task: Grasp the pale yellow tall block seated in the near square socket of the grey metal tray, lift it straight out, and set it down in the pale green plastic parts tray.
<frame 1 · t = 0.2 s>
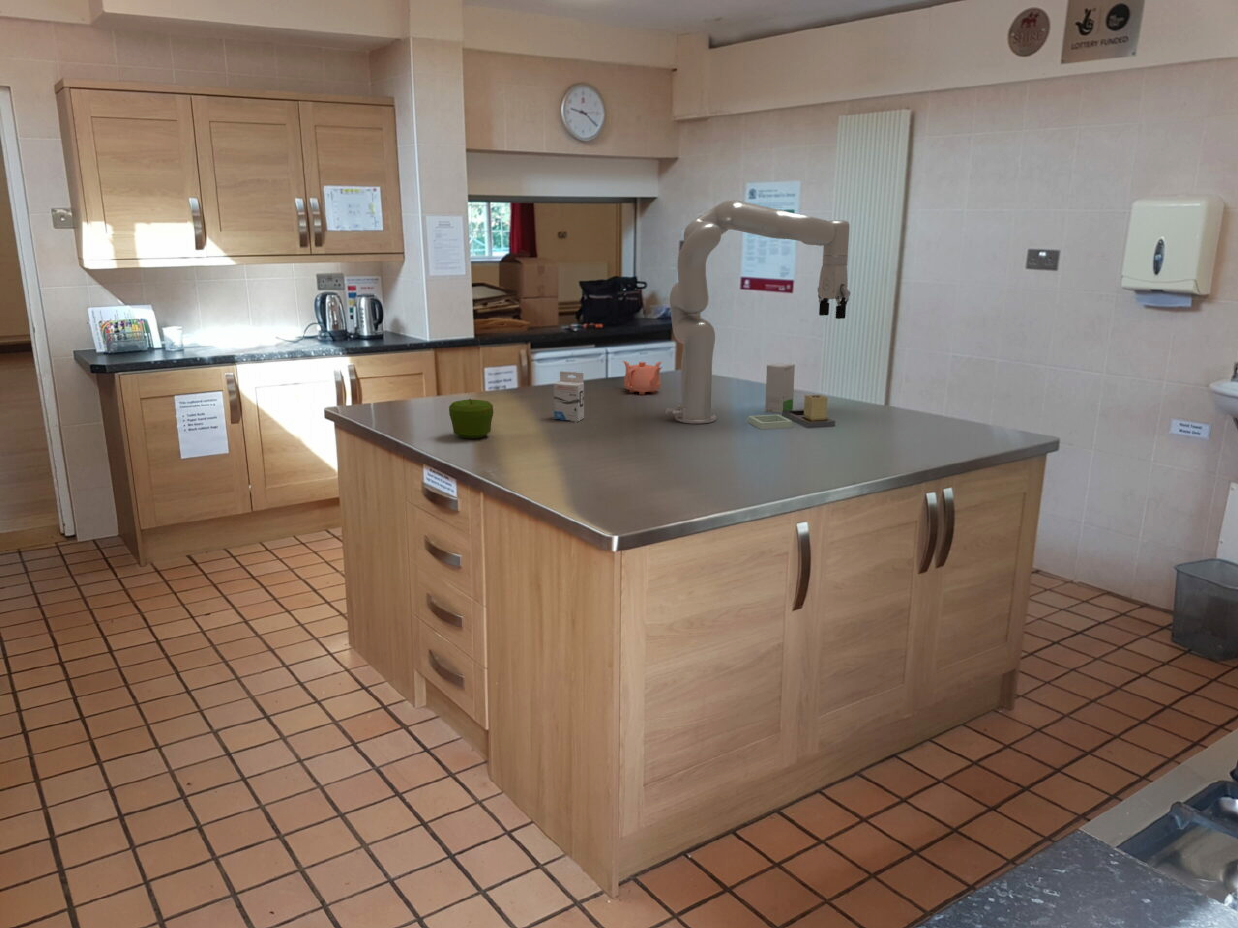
hand: (831, 317, 292), 31 cm above the countertop, fingers open, 9 cm apart
pale yellow tall block: (814, 424, 281), point 1 cm above the countertop, touching grey metal tray
grey metal tray: (807, 422, 285), on the countertop
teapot: (644, 392, 335), on the countertop
parts tray: (769, 426, 280), on the countertop
skincare box: (778, 412, 301), on the countertop
ink box: (569, 420, 290), on the countertop
apple: (472, 437, 268), on the countertop
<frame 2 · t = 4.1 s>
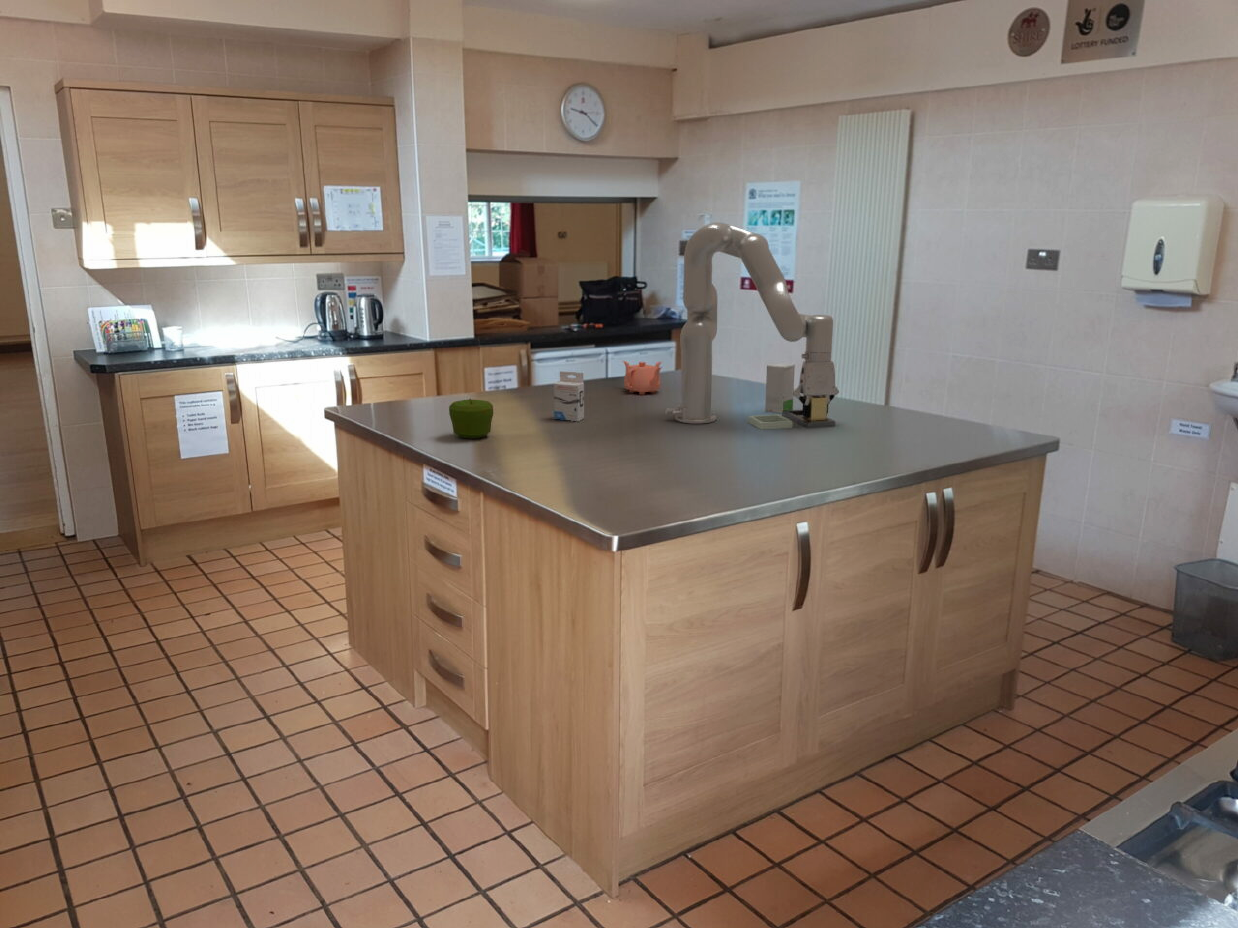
hand: (814, 416, 280), 3 cm above the countertop, fingers closed on pale yellow tall block, 5 cm apart
pale yellow tall block: (814, 424, 281), point 1 cm above the countertop, touching gripper, grey metal tray
everything else where it was.
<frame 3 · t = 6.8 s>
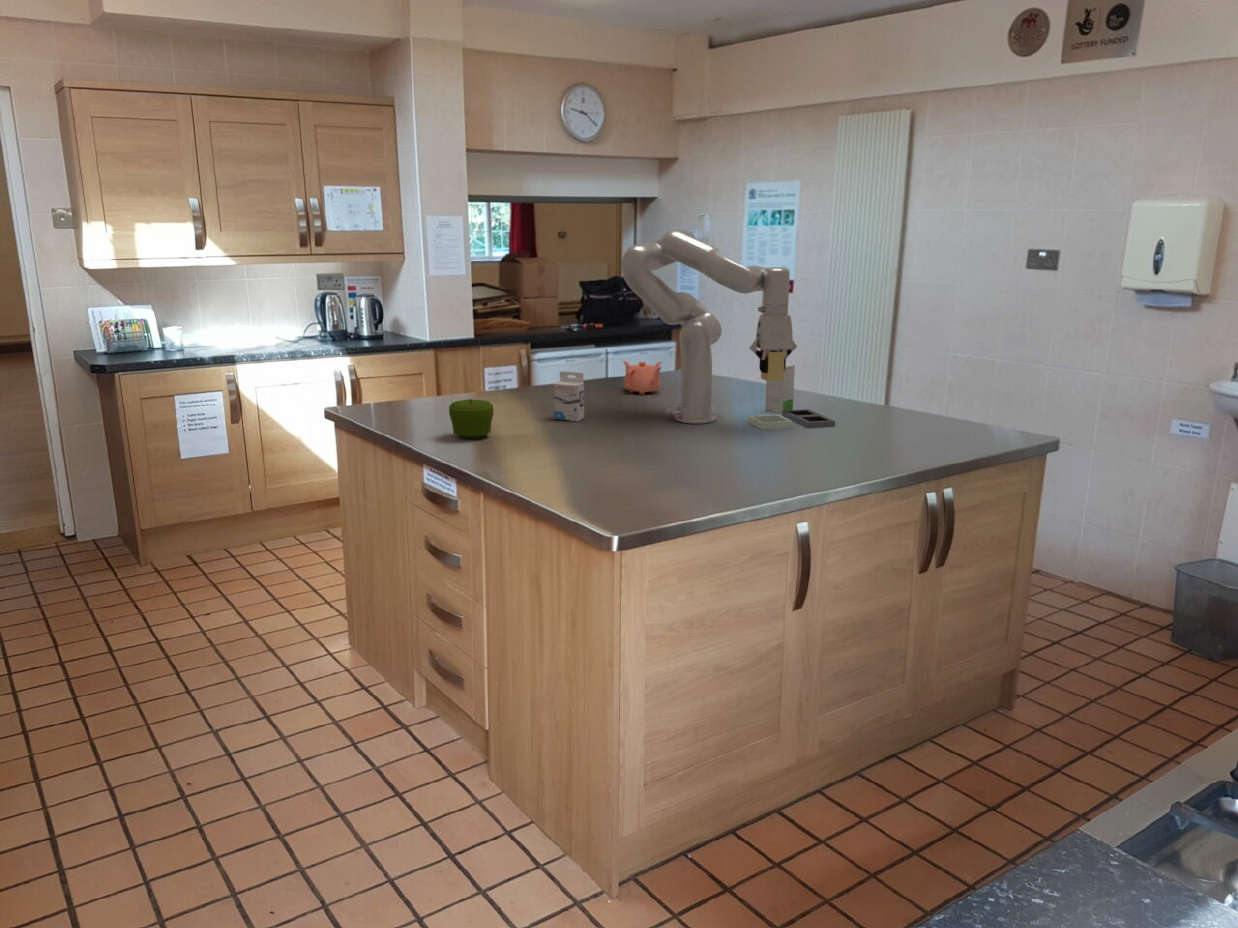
hand: (772, 371, 276), 17 cm above the countertop, fingers closed on pale yellow tall block, 5 cm apart
pale yellow tall block: (772, 379, 276), point 15 cm above the countertop, touching gripper
everything else where it was.
when the fingers open (4 cm above the countertop, at t = 9.8 s): pale yellow tall block drops 1 cm, resting on parts tray.
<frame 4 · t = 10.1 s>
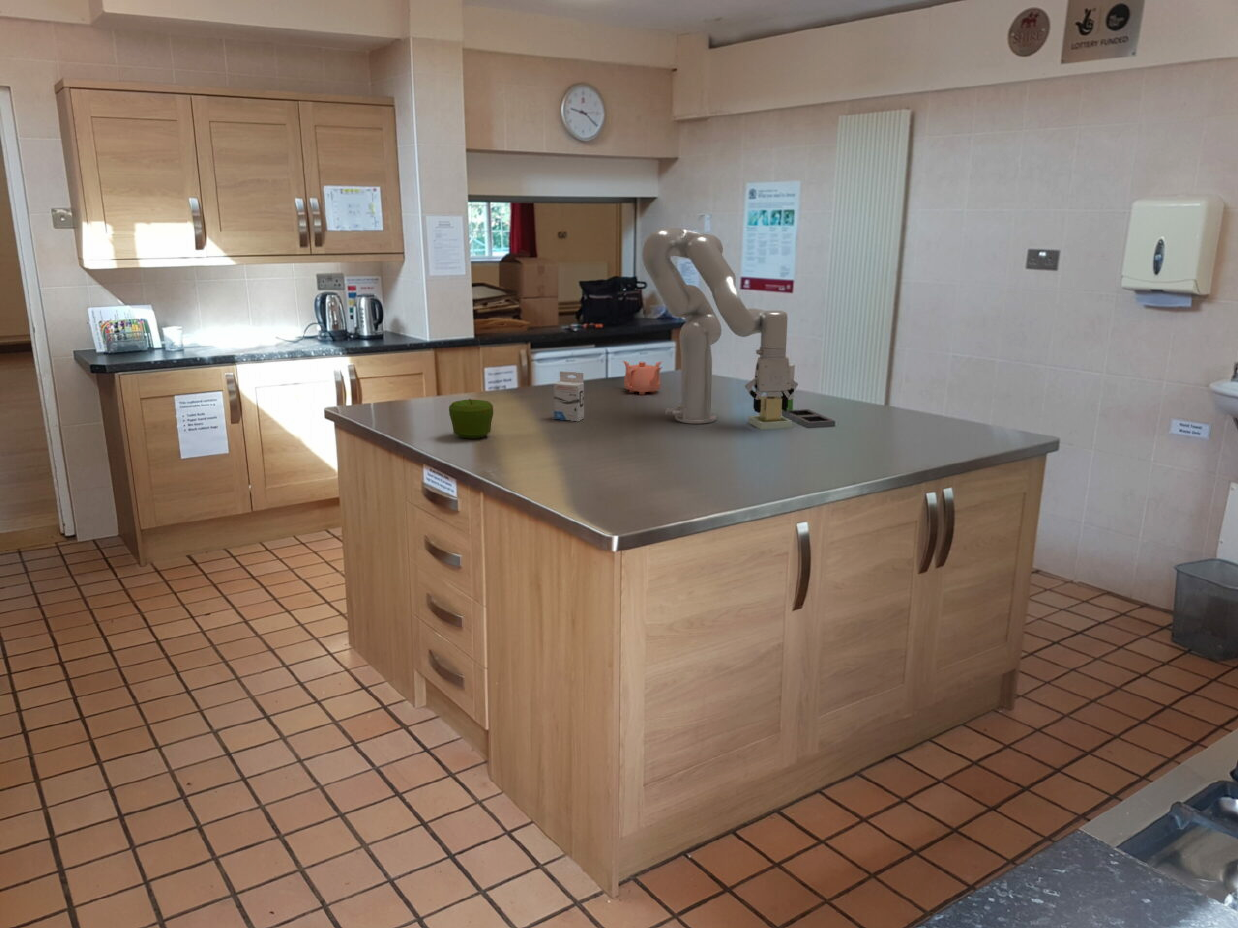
hand: (770, 410, 279), 5 cm above the countertop, fingers open, 8 cm apart
pale yellow tall block: (769, 425, 280), resting on parts tray
everything else where it was.
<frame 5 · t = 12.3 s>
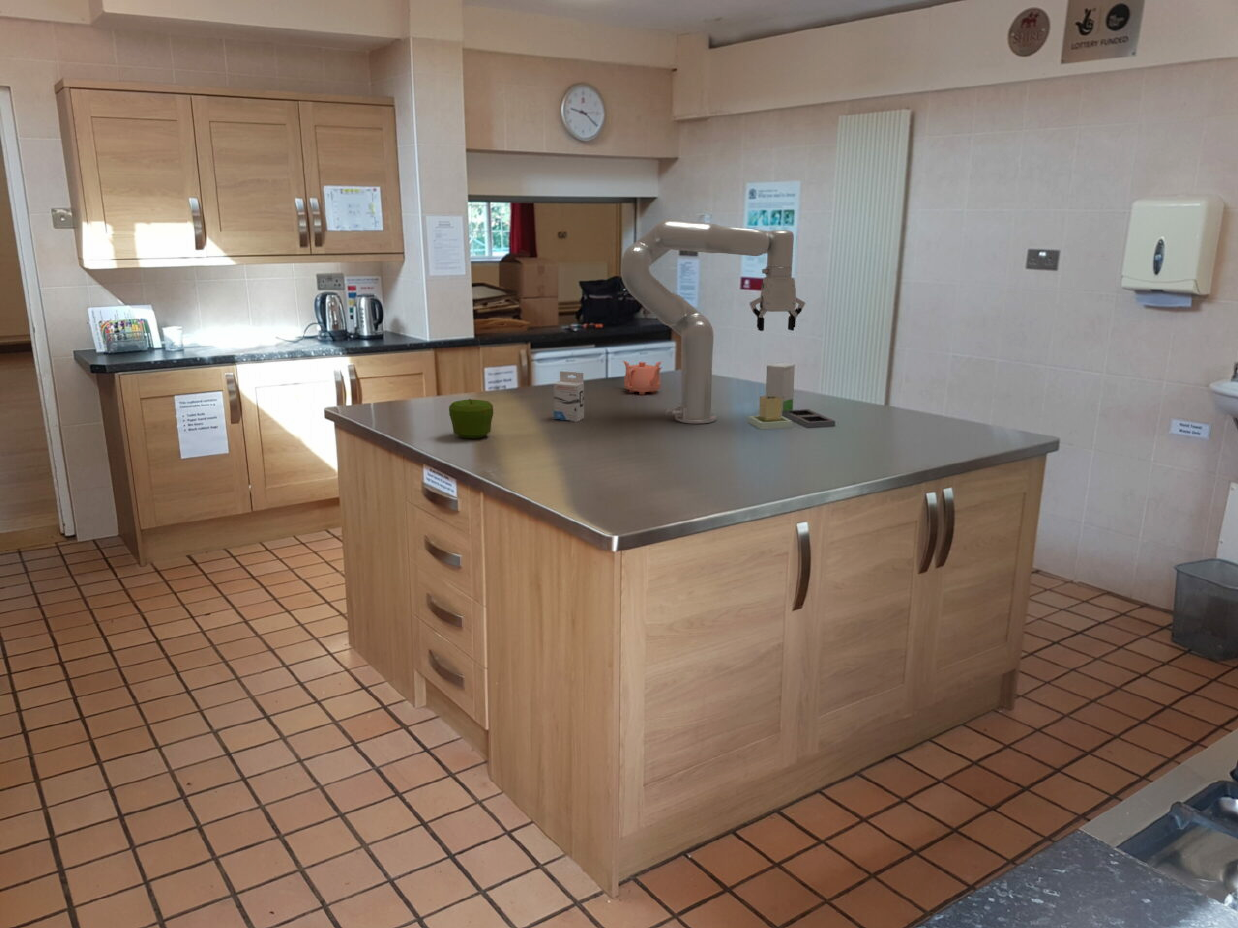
hand: (775, 330, 281), 28 cm above the countertop, fingers open, 9 cm apart
nothing on the countertop moved.
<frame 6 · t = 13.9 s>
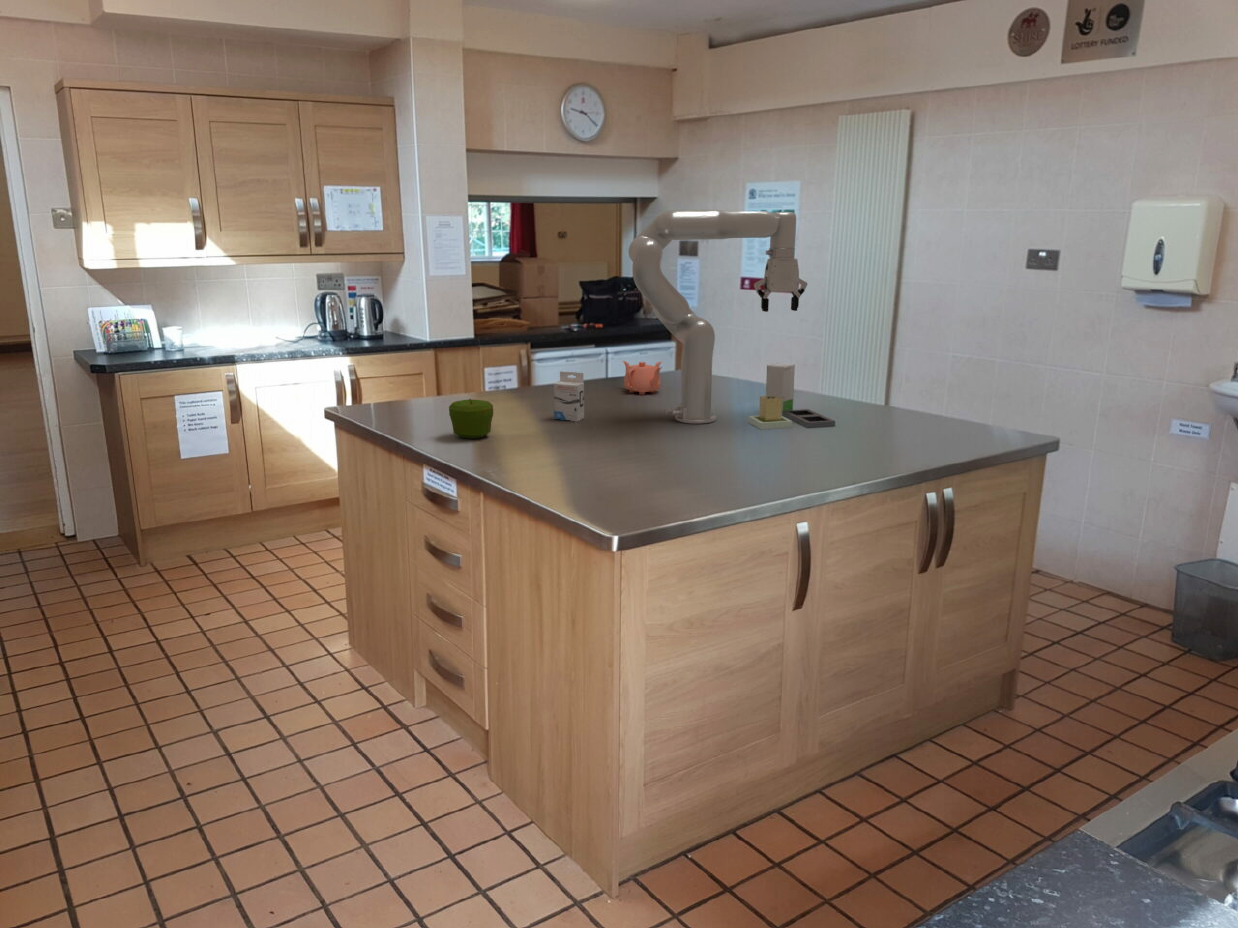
hand: (779, 310, 285), 33 cm above the countertop, fingers open, 9 cm apart
nothing on the countertop moved.
at the end: pale yellow tall block inside the target area on the parts tray (0.1 cm from its centre), point 0.5 cm above the parts tray's base; pale yellow tall block tilted 0°; the gripper is holding nothing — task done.
